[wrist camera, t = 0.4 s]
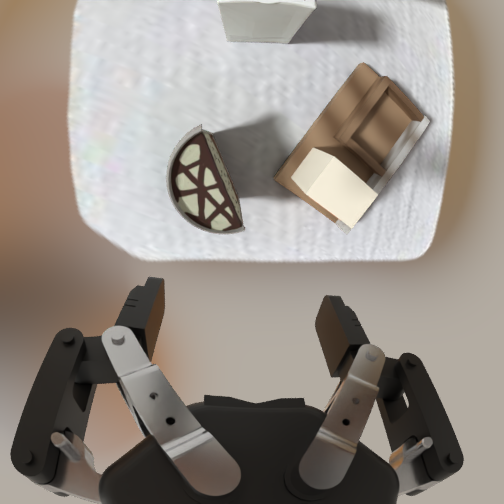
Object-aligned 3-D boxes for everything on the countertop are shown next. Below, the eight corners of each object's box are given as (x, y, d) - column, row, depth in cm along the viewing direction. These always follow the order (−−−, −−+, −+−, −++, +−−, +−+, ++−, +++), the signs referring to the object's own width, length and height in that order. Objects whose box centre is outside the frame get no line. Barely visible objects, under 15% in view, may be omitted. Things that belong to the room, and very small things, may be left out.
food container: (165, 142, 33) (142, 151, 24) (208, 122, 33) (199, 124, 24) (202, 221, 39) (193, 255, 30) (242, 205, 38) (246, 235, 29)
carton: (313, 147, 33) (334, 156, 26) (351, 178, 36) (378, 194, 29) (290, 178, 35) (304, 195, 28) (329, 207, 37) (350, 229, 30)
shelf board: (359, 63, 29) (372, 59, 26) (415, 120, 33) (431, 122, 29) (273, 177, 37) (277, 184, 33) (338, 224, 40) (348, 235, 37)
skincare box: (288, 10, 25) (319, -40, 12) (288, 46, 28) (322, 9, 15) (224, 7, 25) (219, -48, 12) (222, 44, 28) (216, 1, 15)
